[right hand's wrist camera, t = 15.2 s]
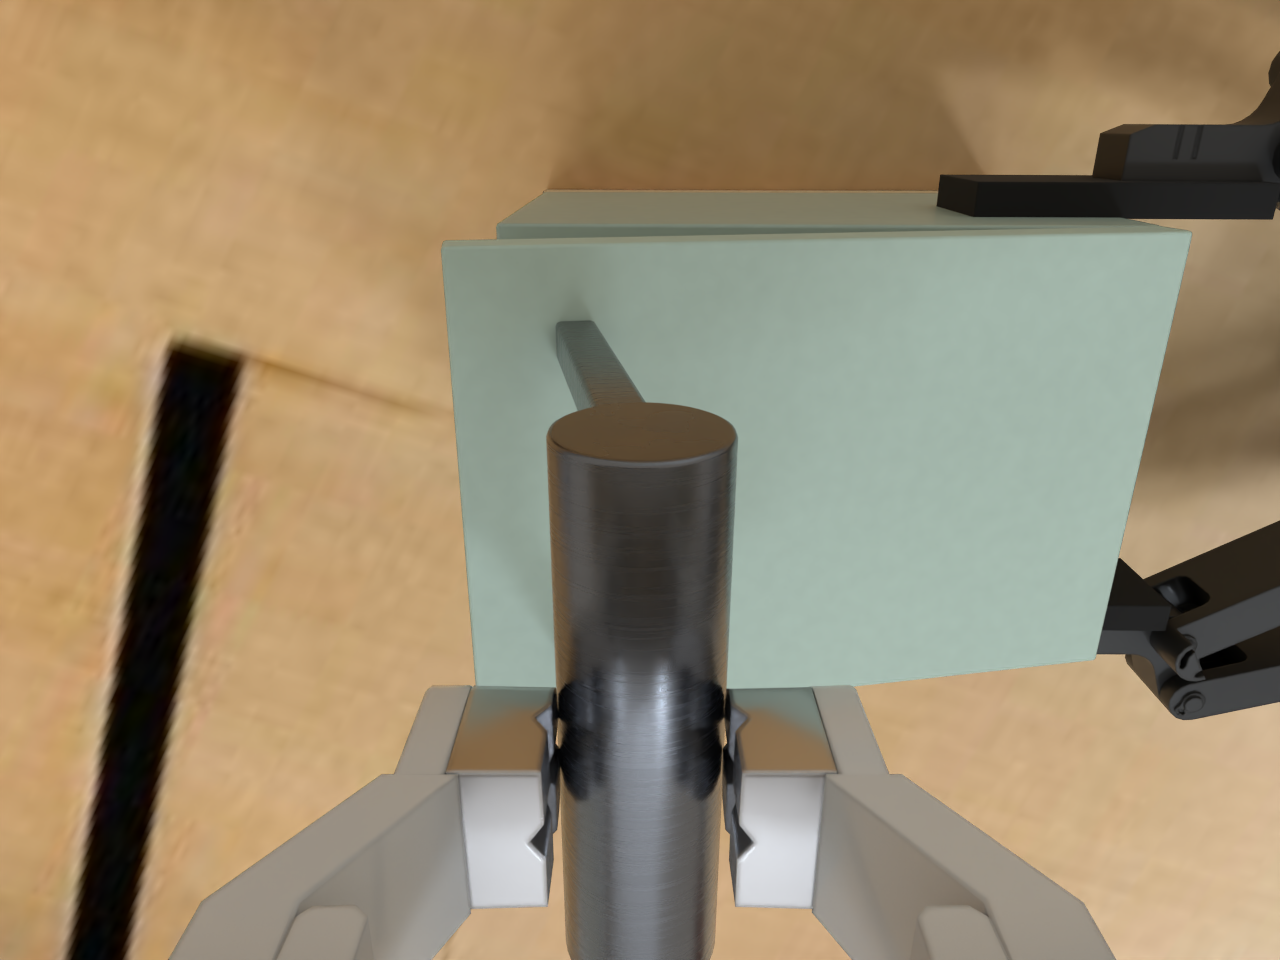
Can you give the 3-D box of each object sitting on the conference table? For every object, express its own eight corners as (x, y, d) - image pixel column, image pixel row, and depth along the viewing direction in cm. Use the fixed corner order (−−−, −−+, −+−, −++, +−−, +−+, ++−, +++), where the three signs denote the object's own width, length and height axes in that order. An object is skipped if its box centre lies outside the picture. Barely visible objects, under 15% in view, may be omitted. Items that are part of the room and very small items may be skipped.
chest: (556, 486, 30) (518, 635, 22) (546, 189, 27) (494, 222, 18) (951, 488, 30) (1074, 639, 21) (994, 190, 27) (1164, 224, 18)
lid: (478, 703, 19) (486, 1092, 11) (441, 239, 15) (419, 357, 8) (1072, 640, 21) (1408, 928, 14) (1161, 225, 18) (1685, 304, 10)
